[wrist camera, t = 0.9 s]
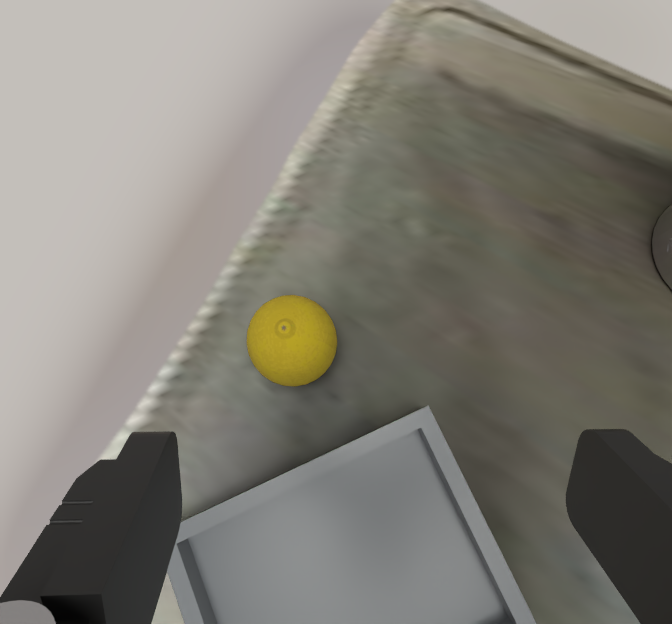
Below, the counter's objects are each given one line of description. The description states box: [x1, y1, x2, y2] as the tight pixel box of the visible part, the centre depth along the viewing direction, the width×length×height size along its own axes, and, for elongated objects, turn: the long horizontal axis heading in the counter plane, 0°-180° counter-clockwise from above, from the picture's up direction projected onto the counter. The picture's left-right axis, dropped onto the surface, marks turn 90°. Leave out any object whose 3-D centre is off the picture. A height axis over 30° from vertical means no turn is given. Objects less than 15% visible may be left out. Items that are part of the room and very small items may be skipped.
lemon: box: [247, 295, 337, 386], centre depth 31 cm, size 6×6×8 cm
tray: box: [167, 406, 536, 624], centre depth 30 cm, size 18×14×3 cm
